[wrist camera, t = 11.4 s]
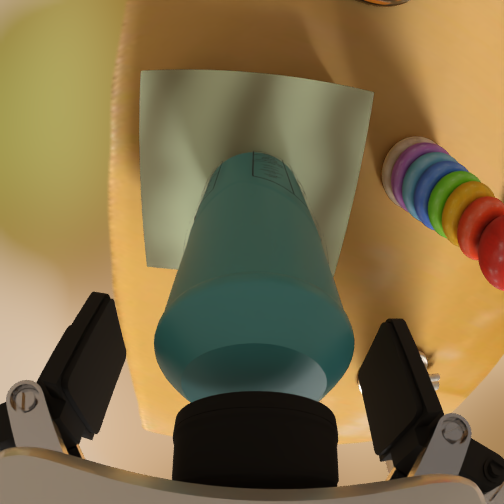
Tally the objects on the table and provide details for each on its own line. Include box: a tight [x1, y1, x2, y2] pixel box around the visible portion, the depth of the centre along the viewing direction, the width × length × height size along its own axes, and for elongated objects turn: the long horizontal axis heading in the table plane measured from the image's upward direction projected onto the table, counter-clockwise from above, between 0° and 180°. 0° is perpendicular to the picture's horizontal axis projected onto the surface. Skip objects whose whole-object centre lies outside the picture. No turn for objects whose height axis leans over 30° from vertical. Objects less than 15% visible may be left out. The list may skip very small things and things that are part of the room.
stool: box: [139, 70, 374, 277], centre depth 26 cm, size 16×16×8 cm
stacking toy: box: [382, 136, 504, 291], centre depth 21 cm, size 8×8×19 cm
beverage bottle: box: [154, 151, 354, 489], centre depth 14 cm, size 6×7×20 cm
